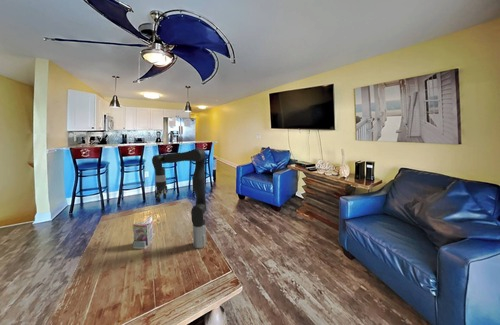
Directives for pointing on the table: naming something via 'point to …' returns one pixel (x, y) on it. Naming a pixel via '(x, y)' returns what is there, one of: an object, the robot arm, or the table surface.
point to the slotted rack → (140, 244)
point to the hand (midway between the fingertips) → (162, 200)
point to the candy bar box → (142, 232)
